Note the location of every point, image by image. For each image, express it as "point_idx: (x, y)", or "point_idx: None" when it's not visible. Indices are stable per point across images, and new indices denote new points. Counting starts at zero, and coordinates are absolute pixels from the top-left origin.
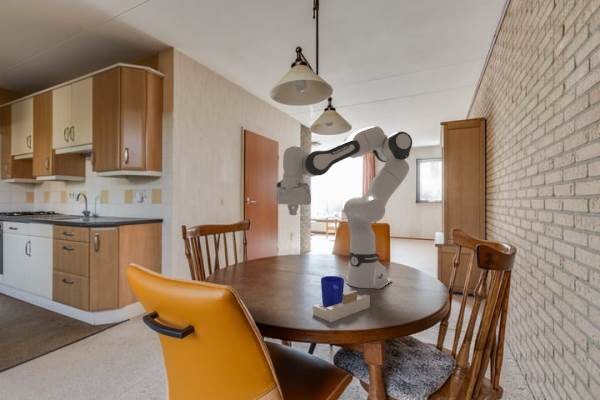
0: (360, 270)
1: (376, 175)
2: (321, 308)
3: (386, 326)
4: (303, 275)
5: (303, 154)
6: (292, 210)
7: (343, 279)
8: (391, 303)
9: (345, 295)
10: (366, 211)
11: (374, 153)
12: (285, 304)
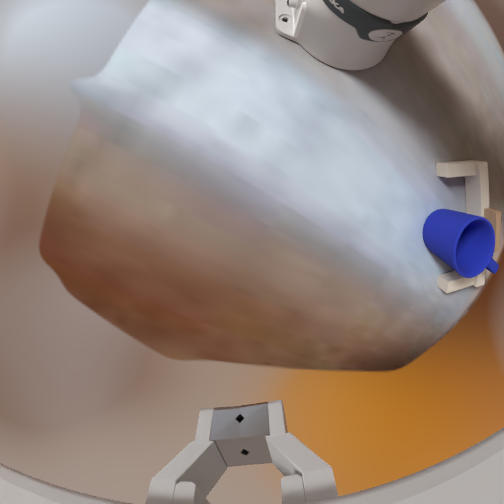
0: (390, 41)
1: None
2: (463, 286)
3: None
4: (151, 131)
5: None
6: (214, 452)
7: (491, 225)
8: (475, 104)
9: (498, 250)
10: None
11: None
12: (367, 311)
